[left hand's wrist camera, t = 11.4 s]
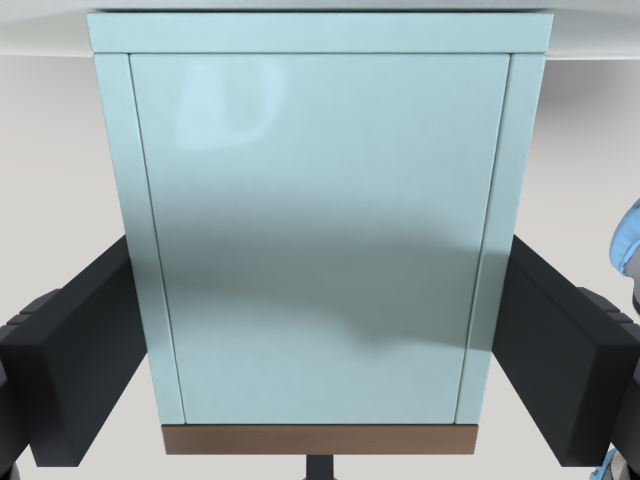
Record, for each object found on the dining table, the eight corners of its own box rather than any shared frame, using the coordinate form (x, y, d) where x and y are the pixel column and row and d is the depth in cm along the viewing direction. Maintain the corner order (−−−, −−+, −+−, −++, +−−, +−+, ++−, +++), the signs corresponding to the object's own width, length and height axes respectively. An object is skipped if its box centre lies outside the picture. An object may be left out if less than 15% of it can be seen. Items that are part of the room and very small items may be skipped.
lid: (387, 218, 28) (380, 323, 32) (252, 218, 28) (258, 323, 32) (479, 426, 12) (447, 602, 15) (160, 426, 12) (192, 602, 15)
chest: (400, 48, 24) (389, 222, 28) (239, 48, 24) (250, 222, 28) (555, 12, 8) (480, 424, 12) (82, 12, 8) (159, 424, 12)
